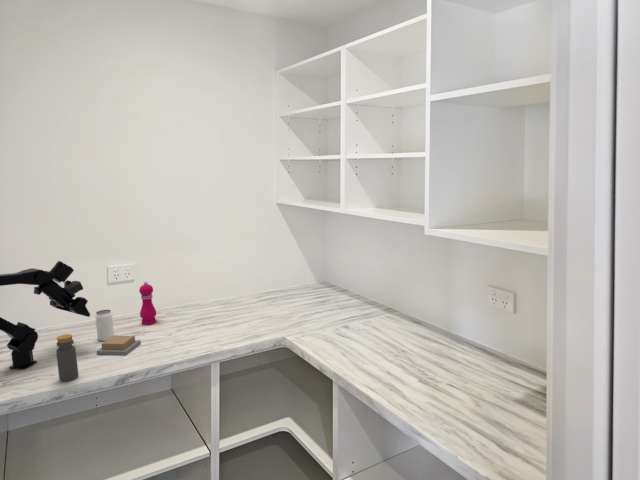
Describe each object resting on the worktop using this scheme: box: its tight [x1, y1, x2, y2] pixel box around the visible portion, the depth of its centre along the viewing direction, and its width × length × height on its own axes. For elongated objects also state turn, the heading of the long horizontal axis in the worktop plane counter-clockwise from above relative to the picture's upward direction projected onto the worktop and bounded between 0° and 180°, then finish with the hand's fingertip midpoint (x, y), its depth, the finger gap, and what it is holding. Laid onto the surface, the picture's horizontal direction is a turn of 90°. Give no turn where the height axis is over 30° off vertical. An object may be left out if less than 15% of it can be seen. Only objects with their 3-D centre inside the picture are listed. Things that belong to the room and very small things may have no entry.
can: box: [95, 309, 115, 342], centre depth 197 cm, size 6×6×12 cm
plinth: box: [95, 334, 141, 356], centre depth 185 cm, size 12×12×4 cm
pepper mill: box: [138, 280, 157, 326], centre depth 216 cm, size 7×7×20 cm
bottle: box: [55, 333, 79, 382], centre depth 159 cm, size 6×6×15 cm
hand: (83, 314), depth 190 cm, fingers open, 9 cm apart
